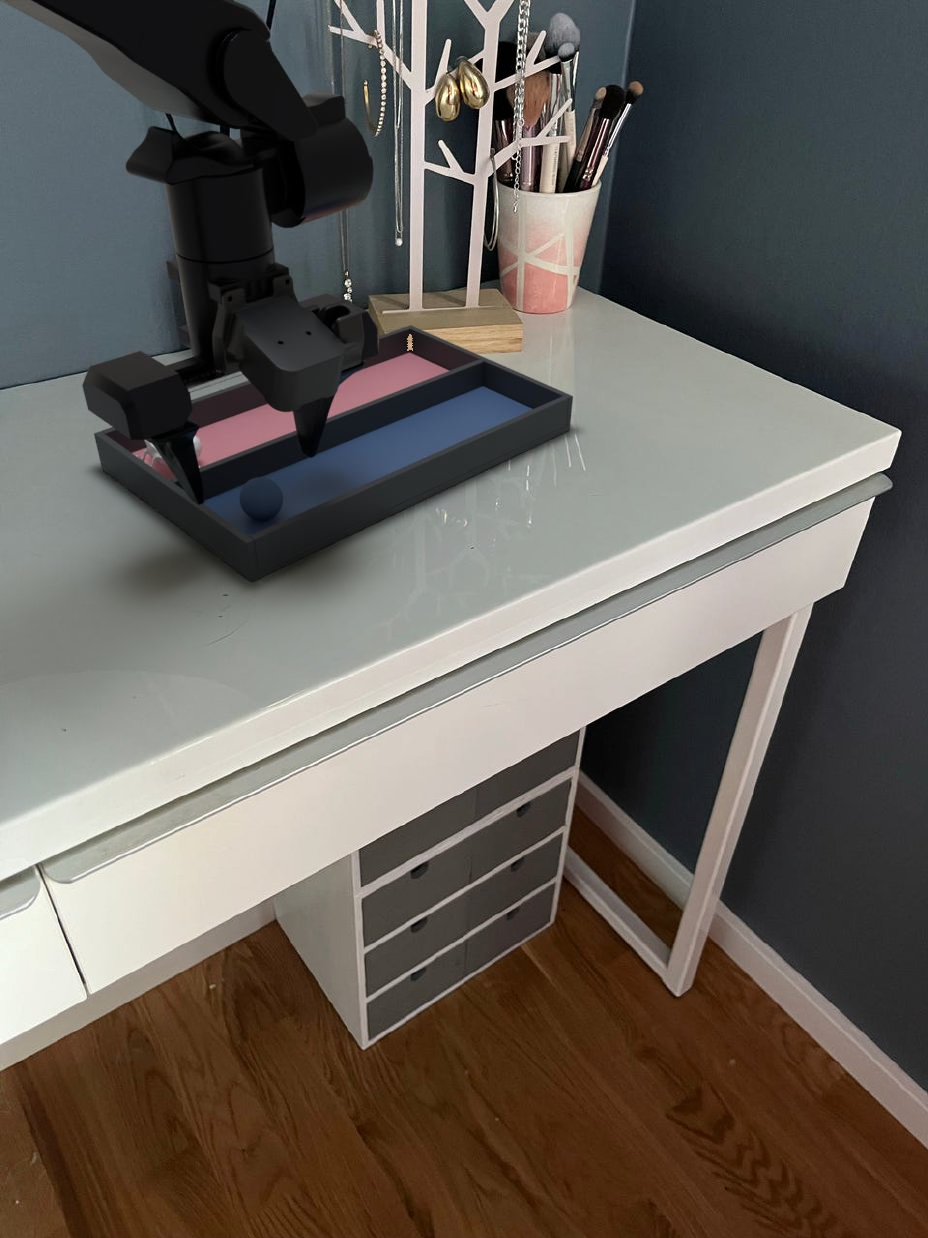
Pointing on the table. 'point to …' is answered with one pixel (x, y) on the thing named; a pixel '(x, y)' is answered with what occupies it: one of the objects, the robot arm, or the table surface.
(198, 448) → the white bird figurine
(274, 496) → the slate ball
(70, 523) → the table surface
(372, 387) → the tray
